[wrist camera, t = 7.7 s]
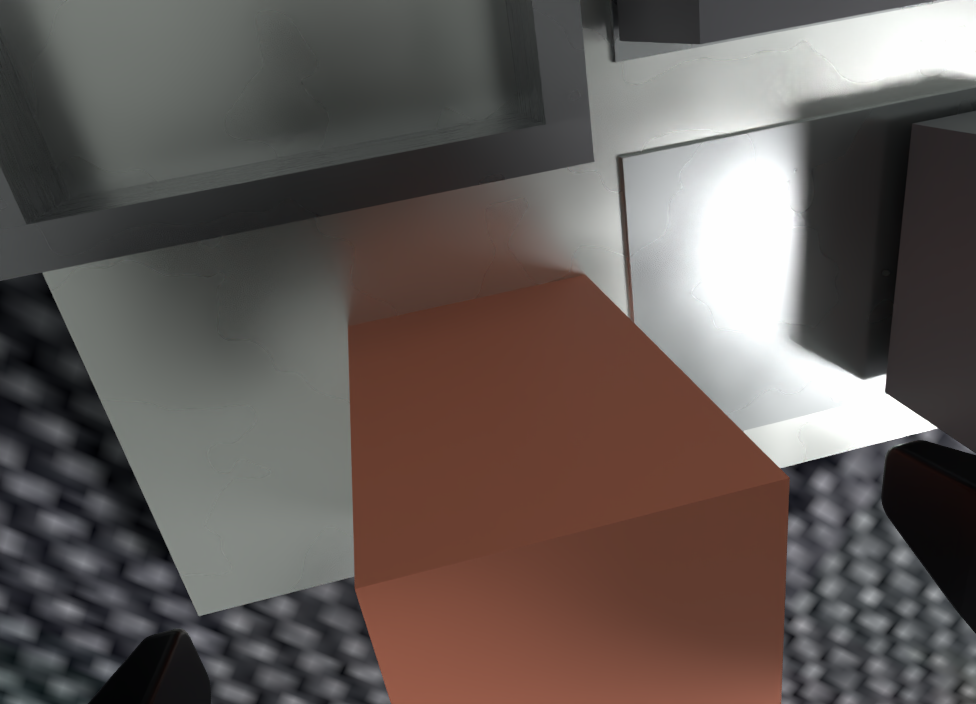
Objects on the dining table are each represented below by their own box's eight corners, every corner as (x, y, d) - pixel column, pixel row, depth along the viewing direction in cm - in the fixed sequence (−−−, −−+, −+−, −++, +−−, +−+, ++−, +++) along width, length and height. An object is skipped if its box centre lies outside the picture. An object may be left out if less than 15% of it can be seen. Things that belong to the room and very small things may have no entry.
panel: (1561, -720, 10) (2004, -993, 7) (1224, 311, 17) (1390, 364, 14) (-274, -579, 8) (-612, -914, 5) (211, 561, 15) (182, 682, 12)
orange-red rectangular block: (585, 274, 12) (788, 478, 6) (605, 470, 14) (778, 758, 8) (347, 326, 11) (354, 588, 6) (399, 521, 13) (439, 859, 8)
